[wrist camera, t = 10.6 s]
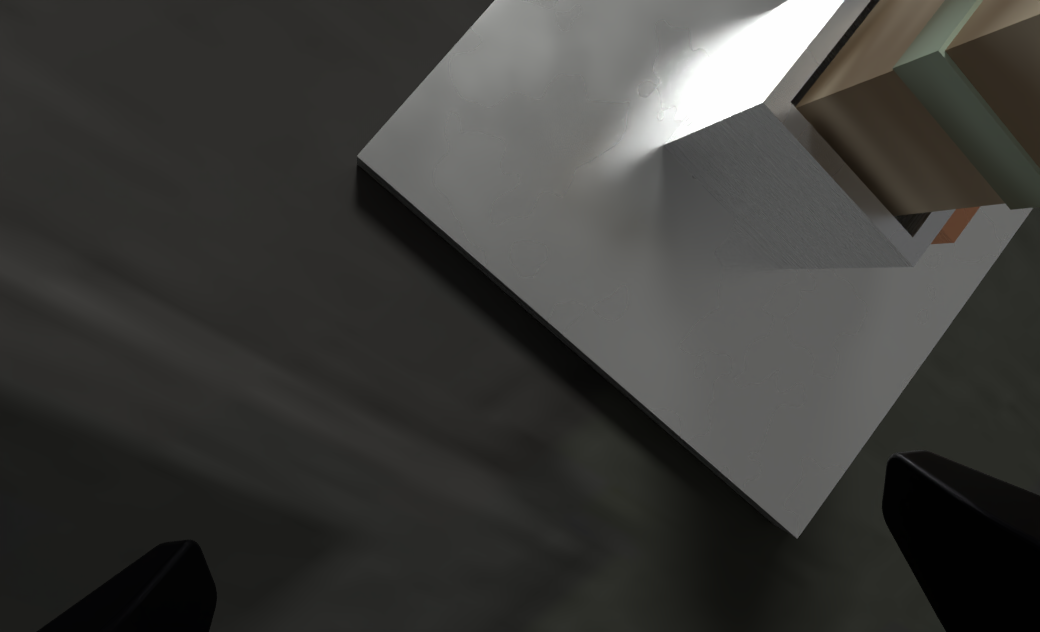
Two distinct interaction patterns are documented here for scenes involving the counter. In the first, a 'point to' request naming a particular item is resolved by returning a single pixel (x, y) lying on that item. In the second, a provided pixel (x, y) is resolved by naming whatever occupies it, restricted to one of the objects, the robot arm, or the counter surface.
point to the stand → (689, 223)
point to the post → (937, 104)
